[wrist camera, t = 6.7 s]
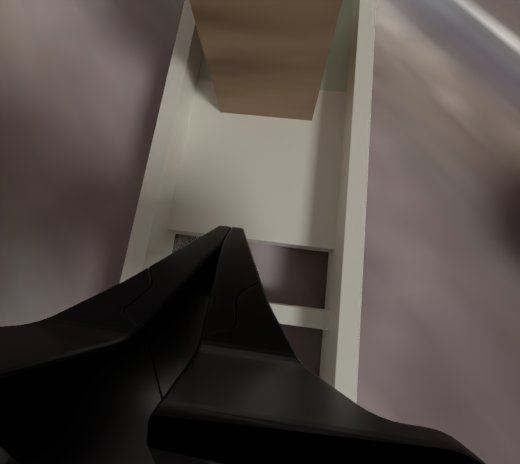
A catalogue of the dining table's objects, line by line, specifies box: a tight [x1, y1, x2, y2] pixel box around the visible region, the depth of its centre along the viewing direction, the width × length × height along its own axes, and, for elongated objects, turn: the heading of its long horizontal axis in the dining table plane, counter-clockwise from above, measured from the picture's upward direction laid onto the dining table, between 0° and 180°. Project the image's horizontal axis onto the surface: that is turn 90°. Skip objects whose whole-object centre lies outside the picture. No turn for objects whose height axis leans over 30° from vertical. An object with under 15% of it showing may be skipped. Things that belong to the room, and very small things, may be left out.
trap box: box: [120, 0, 376, 403], centre depth 17 cm, size 32×12×4 cm, turn 173°
